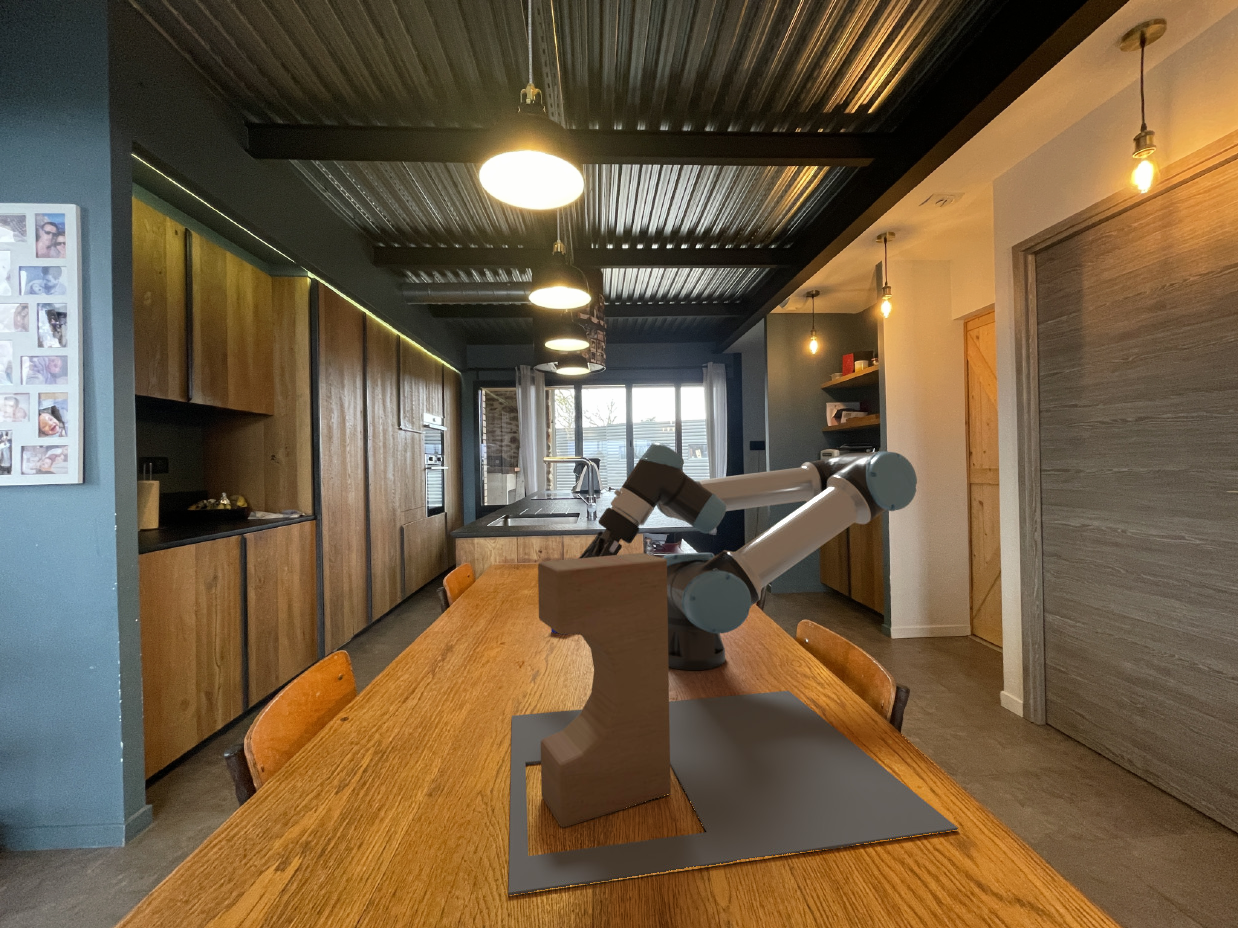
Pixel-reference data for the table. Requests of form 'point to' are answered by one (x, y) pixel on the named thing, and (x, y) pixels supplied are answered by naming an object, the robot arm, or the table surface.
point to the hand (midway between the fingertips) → (561, 611)
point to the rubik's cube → (555, 631)
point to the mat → (732, 792)
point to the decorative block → (610, 685)
